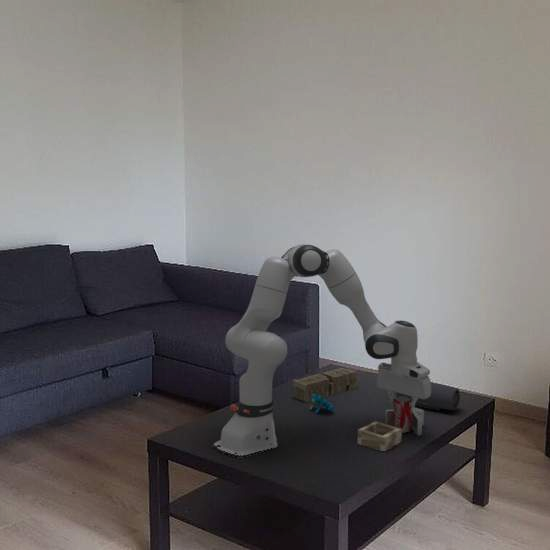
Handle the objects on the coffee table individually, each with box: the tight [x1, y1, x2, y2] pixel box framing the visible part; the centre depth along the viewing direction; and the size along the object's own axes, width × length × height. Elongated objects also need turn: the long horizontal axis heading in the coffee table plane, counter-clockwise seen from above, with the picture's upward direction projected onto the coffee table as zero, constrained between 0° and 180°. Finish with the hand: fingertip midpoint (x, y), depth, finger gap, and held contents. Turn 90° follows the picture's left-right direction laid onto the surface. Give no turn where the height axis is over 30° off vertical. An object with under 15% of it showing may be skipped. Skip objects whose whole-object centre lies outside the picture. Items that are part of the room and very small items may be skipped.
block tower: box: [292, 367, 358, 403], centre depth 296 cm, size 8×8×29 cm
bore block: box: [357, 420, 403, 452], centre depth 246 cm, size 11×11×5 cm
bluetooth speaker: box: [395, 381, 461, 411], centre depth 280 cm, size 23×9×10 cm, turn 56°
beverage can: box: [393, 396, 412, 434], centre depth 256 cm, size 6×6×12 cm
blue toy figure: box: [309, 394, 335, 415], centre depth 275 cm, size 11×6×10 cm
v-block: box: [384, 407, 425, 436], centre depth 259 cm, size 10×15×6 cm, turn 48°
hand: (402, 405), depth 255 cm, fingers closed on beverage can, 6 cm apart
